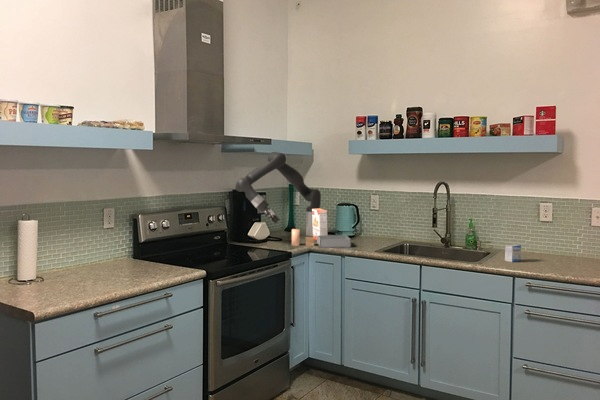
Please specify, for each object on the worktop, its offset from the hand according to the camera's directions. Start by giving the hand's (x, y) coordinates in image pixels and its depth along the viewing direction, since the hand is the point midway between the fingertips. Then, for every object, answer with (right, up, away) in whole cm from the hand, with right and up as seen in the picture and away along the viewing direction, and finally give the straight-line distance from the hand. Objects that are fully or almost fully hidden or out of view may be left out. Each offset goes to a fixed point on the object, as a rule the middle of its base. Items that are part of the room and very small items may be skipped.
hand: (277, 221), depth 319 cm
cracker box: (+28, -14, +19) cm, 36 cm away
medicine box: (+129, -19, -47) cm, 139 cm away
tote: (+35, -15, 0) cm, 38 cm away
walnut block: (+20, -15, 0) cm, 25 cm away
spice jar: (+11, -15, 0) cm, 19 cm away
